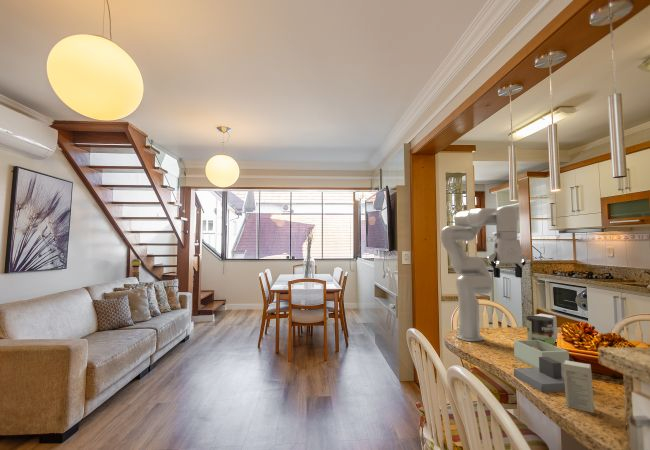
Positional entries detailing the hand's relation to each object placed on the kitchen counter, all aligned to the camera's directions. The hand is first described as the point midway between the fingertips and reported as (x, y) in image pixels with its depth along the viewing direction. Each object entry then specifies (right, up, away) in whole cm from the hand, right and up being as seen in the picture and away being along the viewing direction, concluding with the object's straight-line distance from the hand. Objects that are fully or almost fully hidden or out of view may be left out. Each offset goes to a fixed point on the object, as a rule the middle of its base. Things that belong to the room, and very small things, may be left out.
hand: (507, 277), depth 135 cm
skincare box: (-3, -31, -41) cm, 52 cm away
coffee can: (+21, -34, +10) cm, 41 cm away
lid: (0, -32, -25) cm, 40 cm away
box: (+9, -33, -7) cm, 35 cm away
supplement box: (+31, -35, +23) cm, 52 cm away
